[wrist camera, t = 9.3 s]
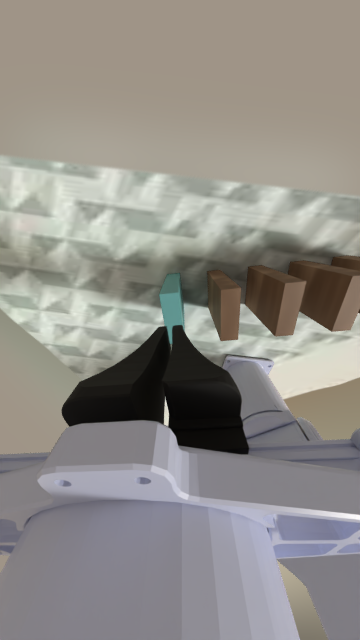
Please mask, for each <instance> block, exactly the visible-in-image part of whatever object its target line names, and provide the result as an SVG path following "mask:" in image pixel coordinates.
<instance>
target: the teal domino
mask: <svg viewBox="0 0 360 640" xmlns="http://www.w3.org/2000/svg"><path fill="white" fill-rule="evenodd" d="M159 297H160V302H161V307H162V313H163V318H164V324H165V326H167V329H168V335H169V341H170V344H172V328H173V326H174V325H182V326H183V329H184V305H183V296H182V287H181V279H180V273H175V274H167V276H166V279H165V281H164V284H163V286H162V289H161V291H160V294H159ZM184 332H185V331H184Z"/></svg>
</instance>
